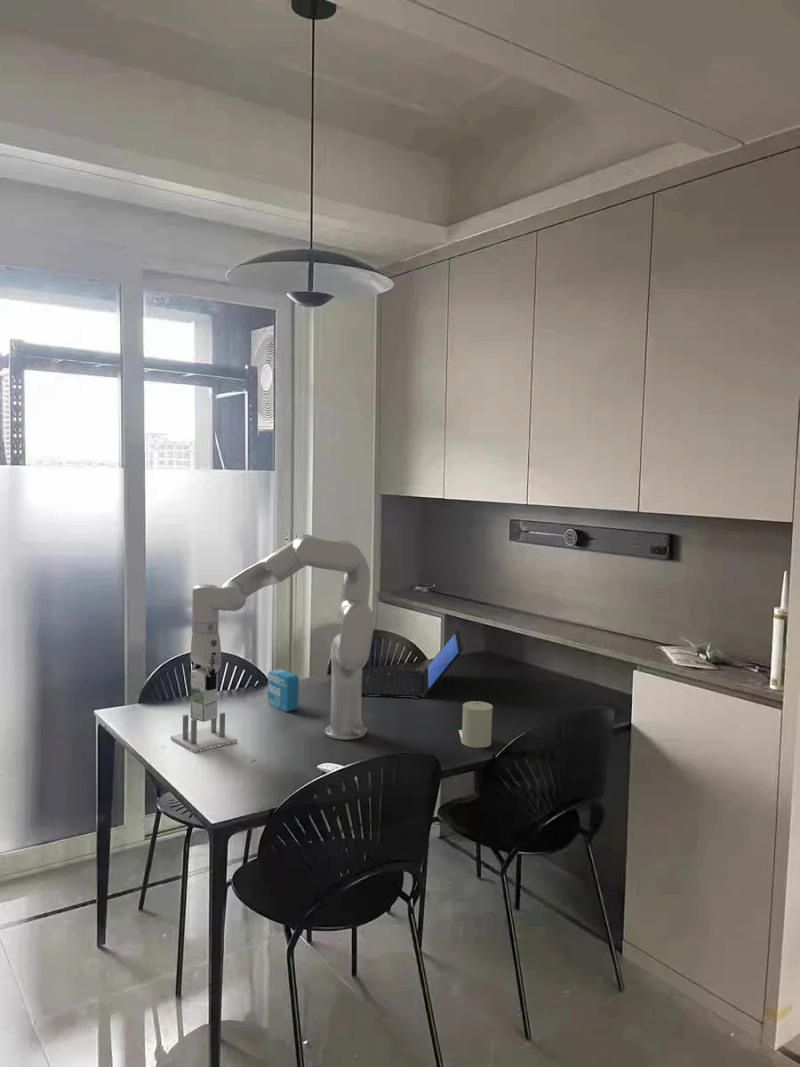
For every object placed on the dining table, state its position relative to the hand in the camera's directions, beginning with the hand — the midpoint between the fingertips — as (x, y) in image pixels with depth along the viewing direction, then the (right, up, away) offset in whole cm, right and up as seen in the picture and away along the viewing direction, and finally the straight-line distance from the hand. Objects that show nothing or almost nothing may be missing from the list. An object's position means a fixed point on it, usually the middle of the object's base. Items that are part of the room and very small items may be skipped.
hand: (204, 686), depth 232 cm
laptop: (+61, -14, +67) cm, 92 cm away
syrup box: (0, -10, +1) cm, 10 cm away
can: (+81, -19, +8) cm, 83 cm away
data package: (+18, -14, +36) cm, 42 cm away
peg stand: (-1, -17, +1) cm, 17 cm away
